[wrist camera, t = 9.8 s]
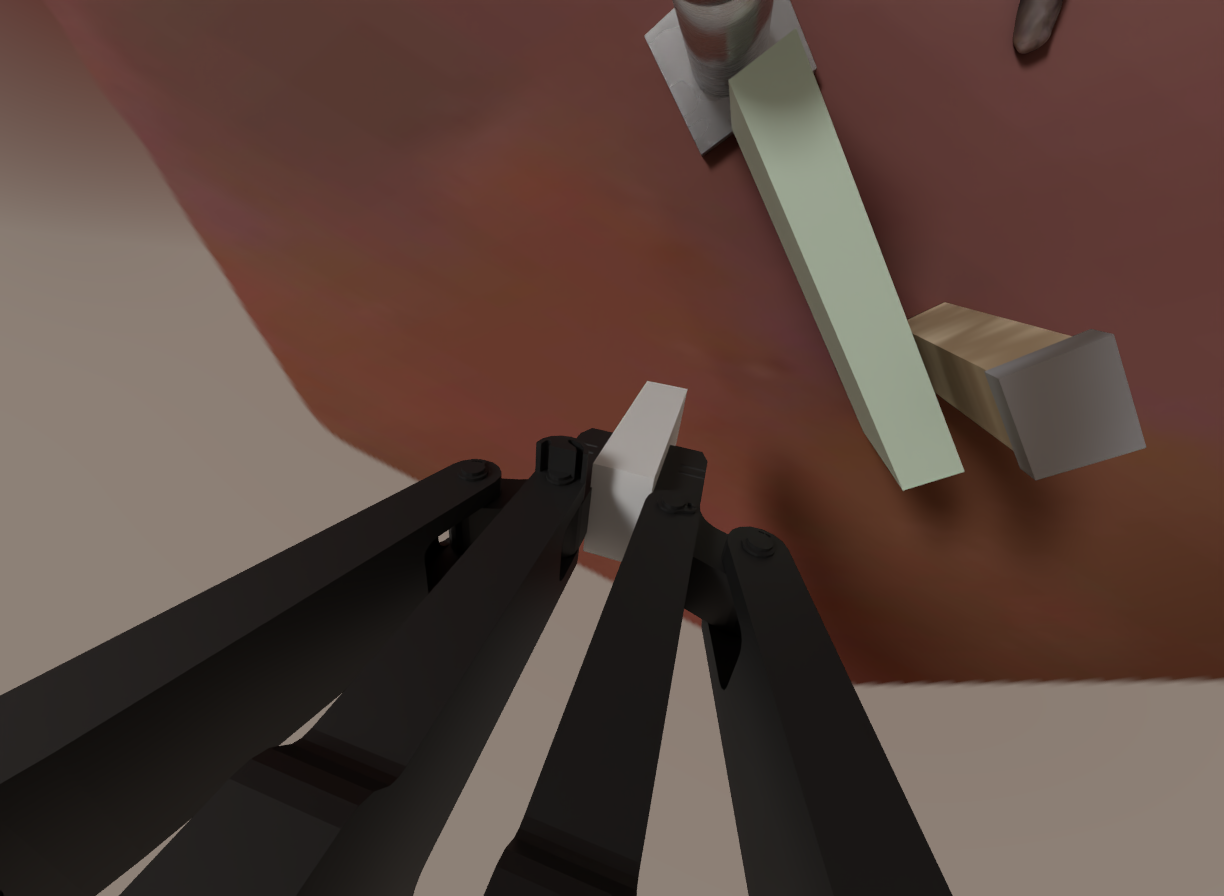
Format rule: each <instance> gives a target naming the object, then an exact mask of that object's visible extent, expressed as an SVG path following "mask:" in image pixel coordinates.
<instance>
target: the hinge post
mask: <svg viewBox="0 0 1224 896" xmlns="http://www.w3.org/2000/svg"><path fill="white" fill-rule="evenodd" d="M673 4H674V7H675V8H674V9H673V10H672V11H671V12H670V13H668V14H667V15H666V16H665V17H664V18H663V19H662V20H661V21H660V22H659V23H658V24H657V25H656V26H654V27H653V28H652V29H651V30H650V31H649V32H648V33H647V34H646V35H645V38H646V41H647V43H648V45H649V47H650V49H651V51H652V53H653V55H654V57H655V59H656V61H657V64H658V66H659V68H660V70H661V72H662V74H663V76H664V78H665V80H666V82H667V84H668V87H669V89H670V91H671V93H672V95H673V97H674V99H675V101H676V103H677V105H678V107H679V109H680V112H681V114H682V116H683V118H684V120H685V122H686V124H687V126H688V128H689V130H690V132H691V134H692V137H693V139H694V141H695V143H696V145H697V147H698V149H699V151H700V153H701V155H702V157H703V156H704V155H706V154H707V153H708V152H710V151H711V150H712V149H714V148H715V147H716V146H718V145H719V144H720V143H722V142H723V141H724V140H726V139H727V138H728V137H730V136H731V135H732V134H734V132H733V130H732V124H731V110H730V95H729V81H728V80H729V79H731V78H732V77H733V76H735V75H736V74H737V73H738V72H740V71H741V70H742V69H744V68H745V67H746V66H747V65H749V64H750V63H751V62H753V61H754V60H755V59H756V58H758V57H759V56H760V55H762V54H763V53H764V52H765V51H767V50H768V49H769V48H771V47H772V46H773V45H774V44H776V43H777V42H778V41H780V40H781V39H782V38H783V37H785V36H786V35H787V34H789V33H790V32H791V31H792V30H794V29H795V28H796V29H797V31H798V34H799V37H800V39H801V42H802V45H803V47H804V50H805V53H806V55H807V58H808V60H809V63H810V66H811V68H812V71H813V74H814V73H815V71H816V69H817V67H816V65H815V62H814V60H813V57H812V55H811V52H810V50H809V47H808V45H807V42H806V40H805V37H804V35H803V32H802V30H801V27H800V25H799V22H798V20H797V17H796V15H795V12H794V10H793V7H792V5H791V2H790V0H673Z"/></svg>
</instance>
